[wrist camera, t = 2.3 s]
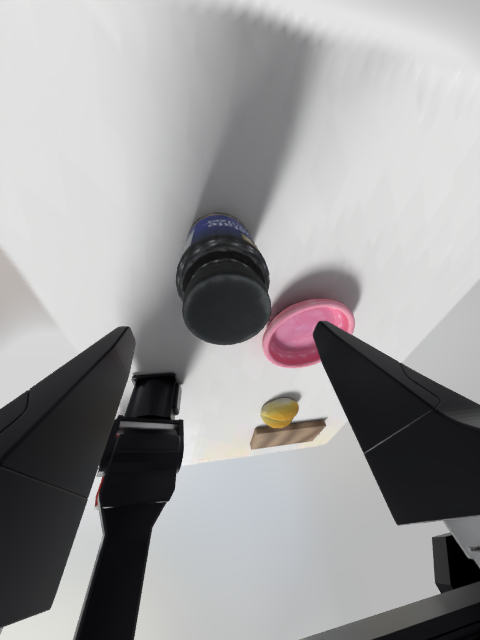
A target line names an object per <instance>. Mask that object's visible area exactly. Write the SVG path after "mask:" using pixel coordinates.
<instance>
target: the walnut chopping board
mask: <svg viewBox="0 0 480 640" xmlns="http://www.w3.org/2000/svg"><path fill="white" fill-rule="evenodd" d="M325 426H326V424H325V422H324V420H319V421H310V422H302V423H294V424H289V425H287V426H286V427H283V428H272V427H261V428H255V431H254V434H253V437H252V440H251V443H250V446H251V450H252V449H259V448H266V447H273V446H280V445H288V444H295V443H302V442H309V441H313V440H314V439H315V437H316V436H317V435H318V434H319V433H320V432H321V431H322V430H323V429H324V427H325Z"/></svg>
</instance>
